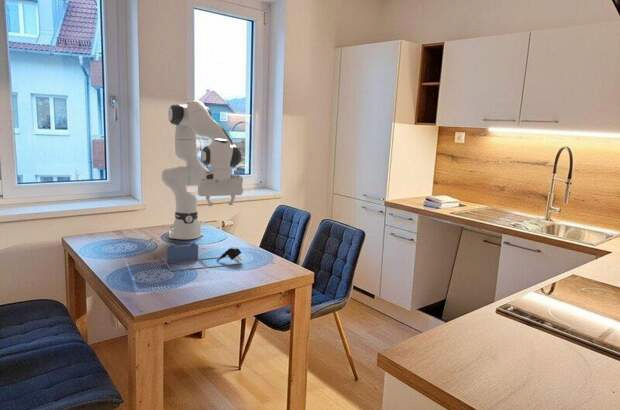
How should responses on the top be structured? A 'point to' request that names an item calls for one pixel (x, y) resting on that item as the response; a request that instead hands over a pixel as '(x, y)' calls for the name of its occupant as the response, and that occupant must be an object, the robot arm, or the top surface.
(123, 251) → the top surface
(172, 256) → the frame
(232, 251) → the power plug
